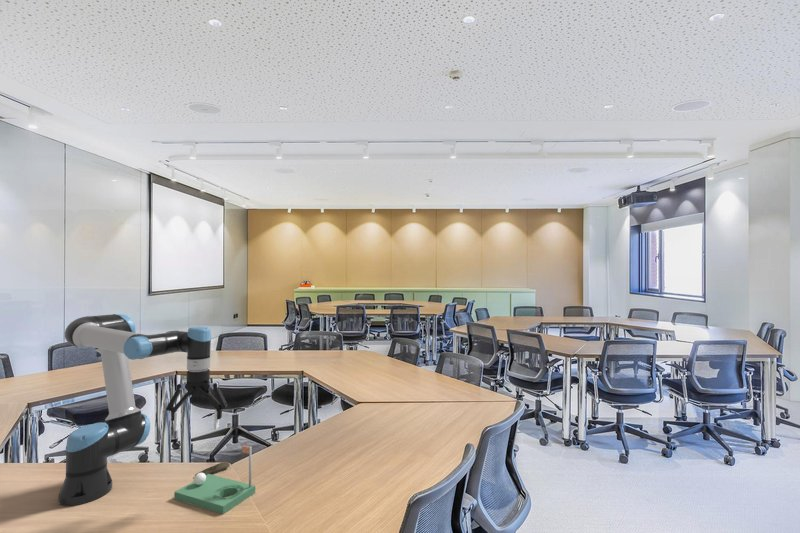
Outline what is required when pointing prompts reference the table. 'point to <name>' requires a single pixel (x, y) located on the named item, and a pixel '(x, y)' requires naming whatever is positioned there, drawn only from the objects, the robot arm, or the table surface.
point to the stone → (215, 468)
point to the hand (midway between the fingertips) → (196, 428)
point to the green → (217, 491)
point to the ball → (199, 478)
